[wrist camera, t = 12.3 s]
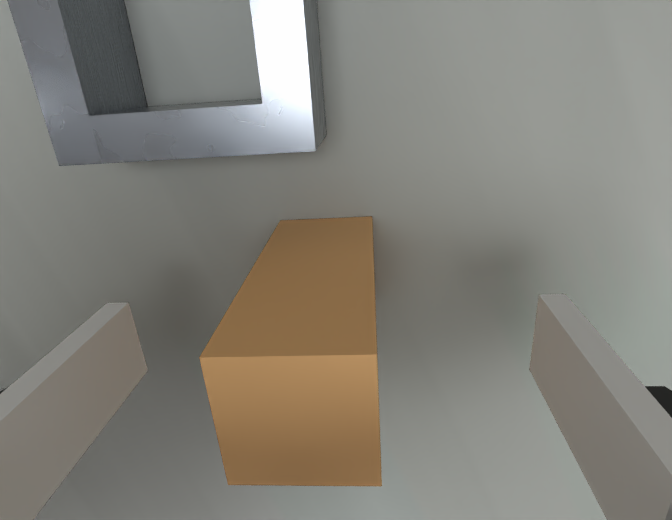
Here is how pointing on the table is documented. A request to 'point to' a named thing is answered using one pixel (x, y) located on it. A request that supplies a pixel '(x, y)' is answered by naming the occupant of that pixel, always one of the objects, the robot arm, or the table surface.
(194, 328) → the table surface
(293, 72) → the grey rectangular frame
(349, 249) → the tan rectangular block
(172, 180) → the table surface
